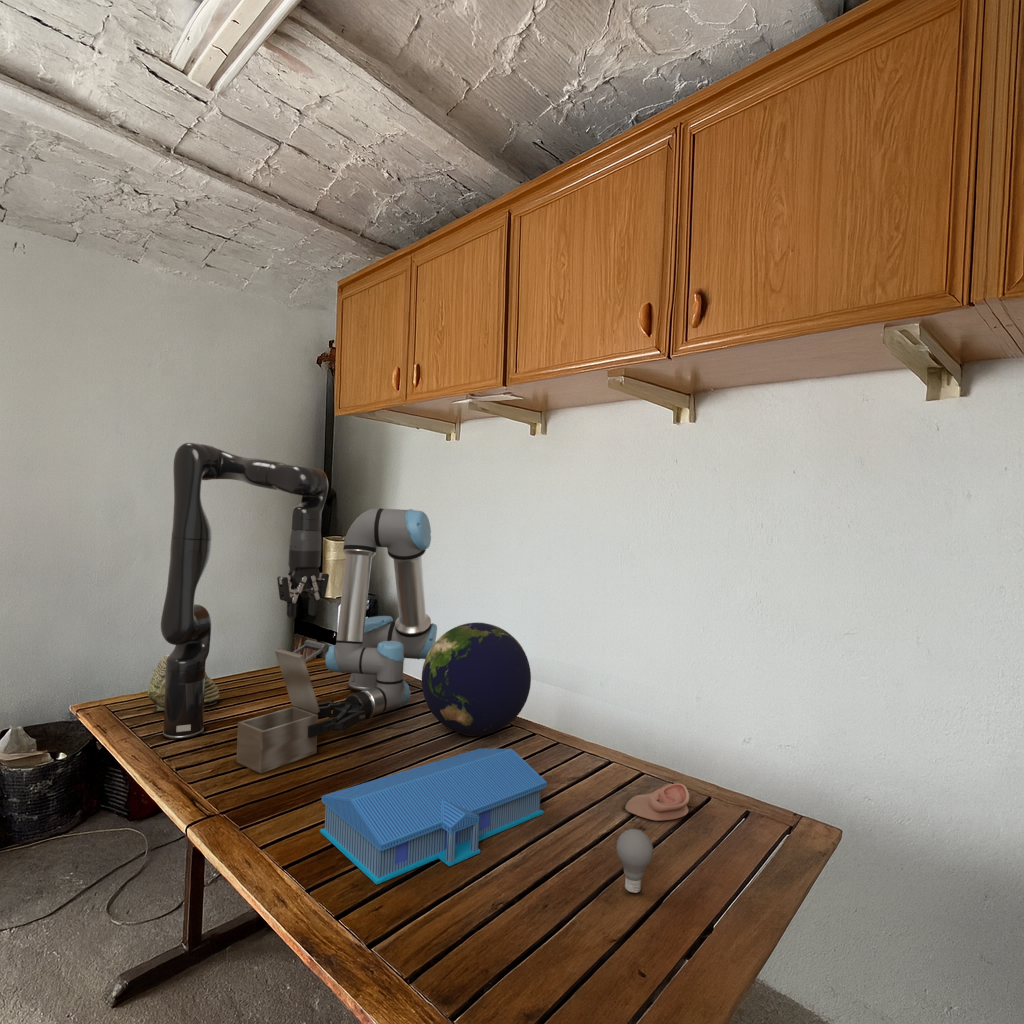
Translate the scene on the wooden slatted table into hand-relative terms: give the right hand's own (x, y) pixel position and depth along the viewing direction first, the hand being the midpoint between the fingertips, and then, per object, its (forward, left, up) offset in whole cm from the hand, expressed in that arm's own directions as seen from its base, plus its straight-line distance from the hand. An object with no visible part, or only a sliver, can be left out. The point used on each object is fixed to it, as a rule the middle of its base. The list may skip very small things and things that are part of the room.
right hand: (295, 726), depth 156 cm
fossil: (-22, -46, -6) cm, 51 cm away
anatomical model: (+8, +87, -6) cm, 88 cm away
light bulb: (+38, +81, -6) cm, 90 cm away
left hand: (-1, 0, +27) cm, 27 cm away
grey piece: (0, 0, +11) cm, 11 cm away
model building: (+25, +44, -6) cm, 52 cm away
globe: (-25, +40, -6) cm, 47 cm away
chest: (+4, -2, -6) cm, 8 cm away
